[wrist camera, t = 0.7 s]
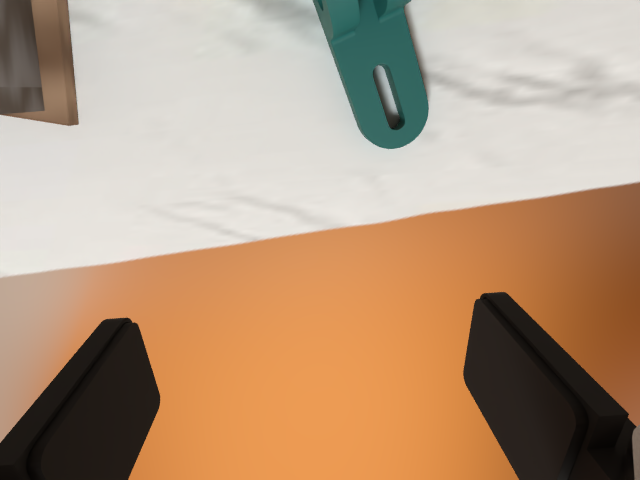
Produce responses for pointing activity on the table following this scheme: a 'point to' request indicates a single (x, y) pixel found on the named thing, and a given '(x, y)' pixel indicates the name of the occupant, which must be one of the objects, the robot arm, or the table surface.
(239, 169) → the table surface
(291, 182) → the table surface
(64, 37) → the gauge base
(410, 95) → the bracket
